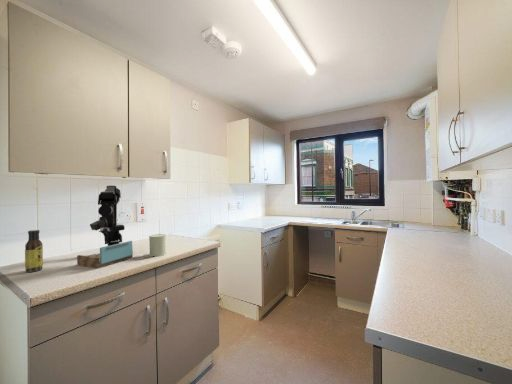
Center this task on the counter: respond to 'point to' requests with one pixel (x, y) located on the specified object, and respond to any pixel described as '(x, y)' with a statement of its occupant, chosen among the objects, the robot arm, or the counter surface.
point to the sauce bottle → (33, 252)
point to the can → (157, 245)
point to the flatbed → (97, 261)
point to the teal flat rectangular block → (115, 252)
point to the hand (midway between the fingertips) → (108, 243)
